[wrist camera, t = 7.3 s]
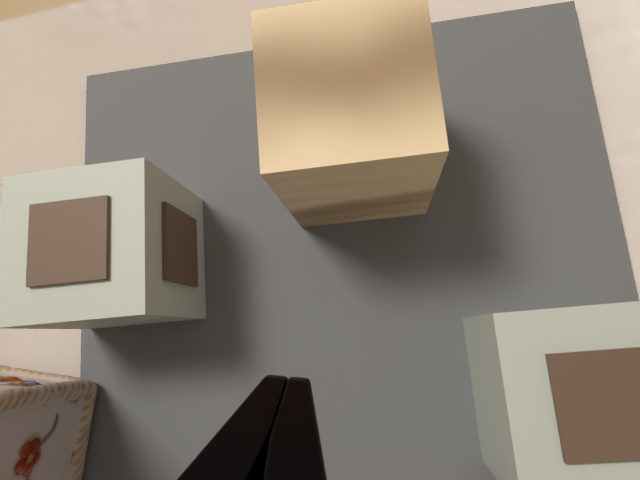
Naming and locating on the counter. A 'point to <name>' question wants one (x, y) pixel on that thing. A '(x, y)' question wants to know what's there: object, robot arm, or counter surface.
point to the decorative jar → (44, 424)
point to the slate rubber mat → (358, 258)
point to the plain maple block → (348, 108)
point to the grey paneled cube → (558, 391)
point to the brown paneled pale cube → (100, 248)
